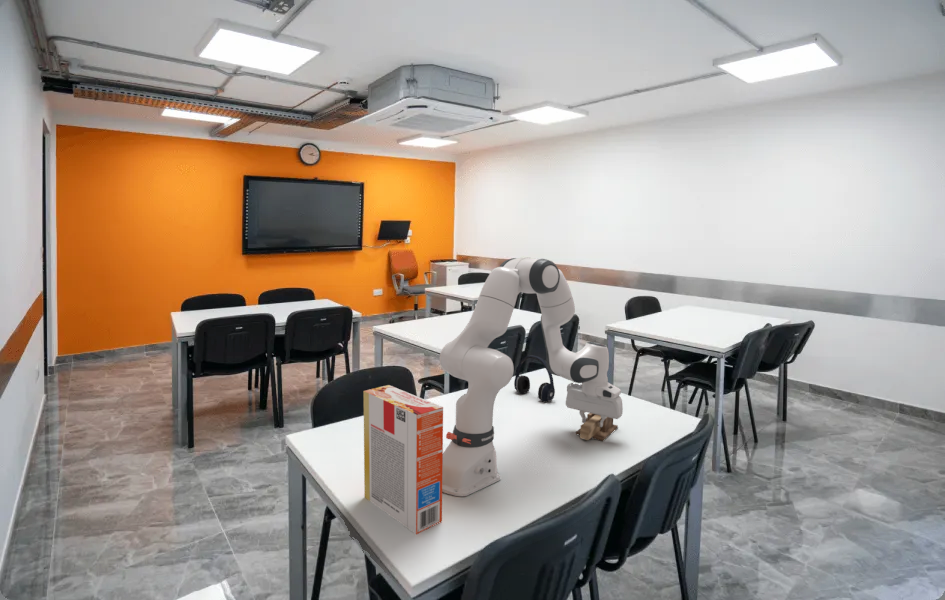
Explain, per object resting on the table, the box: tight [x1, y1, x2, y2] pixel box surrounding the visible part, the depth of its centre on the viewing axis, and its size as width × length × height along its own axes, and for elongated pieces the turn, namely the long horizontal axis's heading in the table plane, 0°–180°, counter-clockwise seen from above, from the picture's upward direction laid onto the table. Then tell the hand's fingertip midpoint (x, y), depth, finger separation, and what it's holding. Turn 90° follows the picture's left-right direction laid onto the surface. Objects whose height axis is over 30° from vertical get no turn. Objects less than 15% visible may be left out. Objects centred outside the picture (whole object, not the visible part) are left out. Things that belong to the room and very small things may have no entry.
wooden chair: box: [575, 413, 619, 442], centre depth 189 cm, size 15×10×12 cm, turn 145°
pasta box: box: [363, 384, 444, 535], centre depth 134 cm, size 23×8×30 cm, turn 44°
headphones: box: [513, 355, 556, 403], centre depth 226 cm, size 20×7×18 cm, turn 42°
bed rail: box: [579, 414, 602, 441], centre depth 186 cm, size 15×3×5 cm, turn 145°
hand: (592, 424), depth 186 cm, fingers open, 4 cm apart
